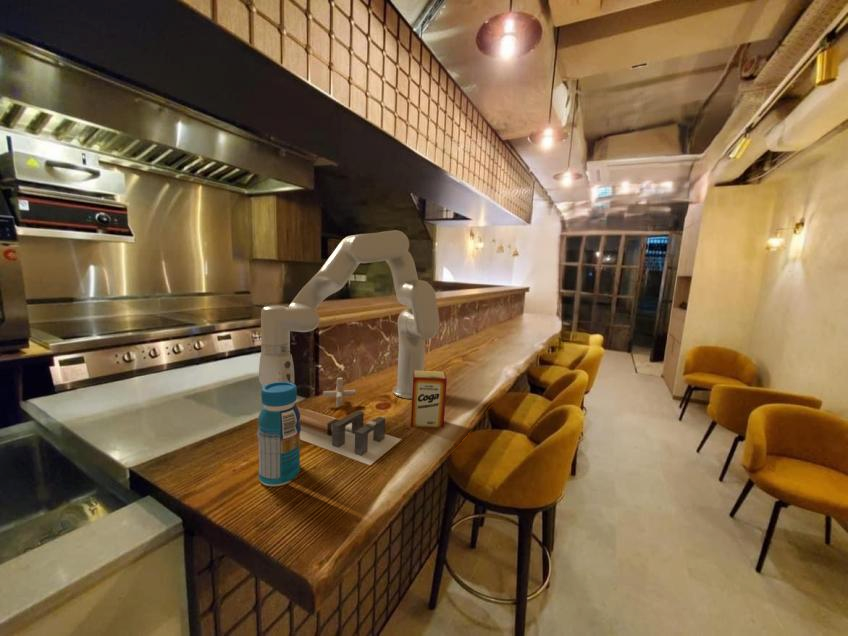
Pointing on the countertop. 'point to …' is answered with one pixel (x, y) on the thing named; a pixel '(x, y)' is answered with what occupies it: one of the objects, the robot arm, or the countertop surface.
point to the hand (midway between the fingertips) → (275, 409)
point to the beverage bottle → (279, 434)
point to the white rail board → (350, 444)
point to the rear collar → (339, 427)
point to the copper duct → (316, 421)
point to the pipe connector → (339, 392)
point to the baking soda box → (428, 398)
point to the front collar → (362, 434)
